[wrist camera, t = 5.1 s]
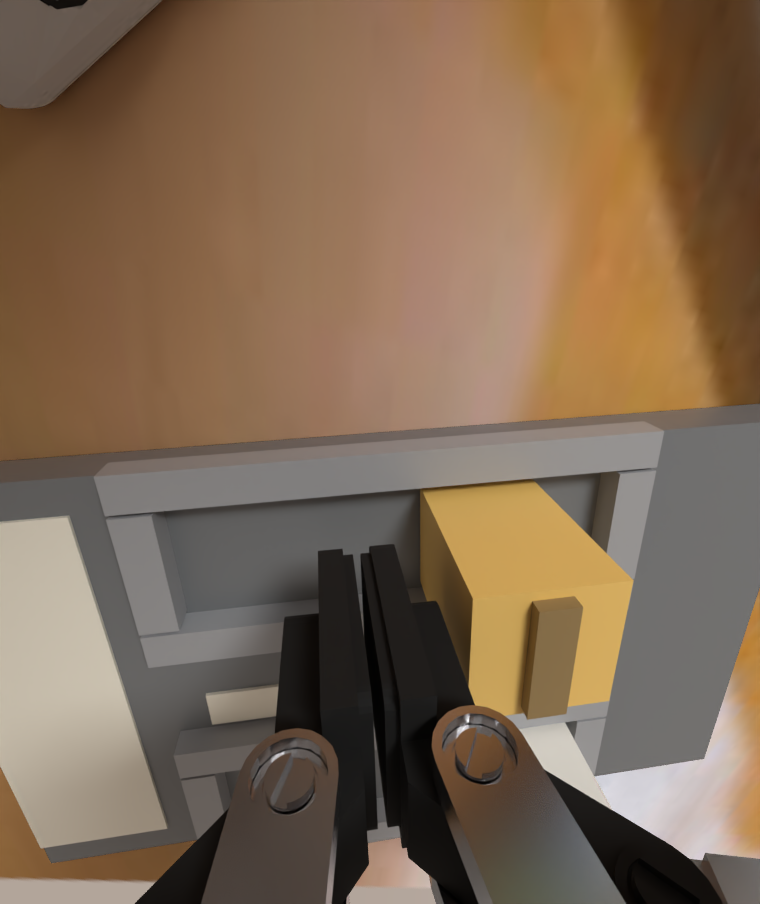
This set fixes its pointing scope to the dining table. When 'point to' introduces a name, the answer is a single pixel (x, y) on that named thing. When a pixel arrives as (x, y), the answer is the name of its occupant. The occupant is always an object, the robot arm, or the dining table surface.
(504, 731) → the robot arm
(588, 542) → the yellow block with tab
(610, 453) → the switch board
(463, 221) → the dining table surface
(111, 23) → the electrical switch
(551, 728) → the white tab
